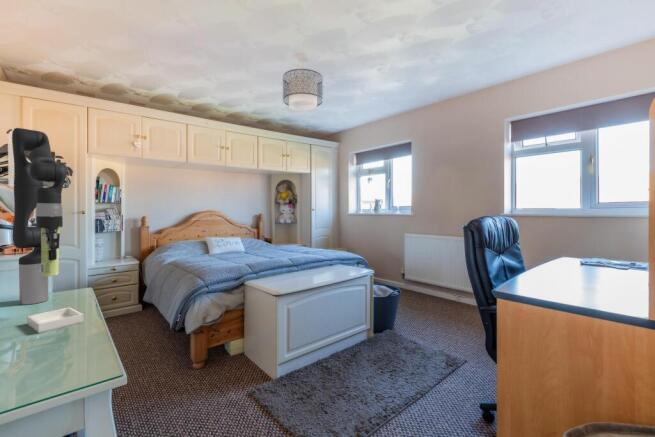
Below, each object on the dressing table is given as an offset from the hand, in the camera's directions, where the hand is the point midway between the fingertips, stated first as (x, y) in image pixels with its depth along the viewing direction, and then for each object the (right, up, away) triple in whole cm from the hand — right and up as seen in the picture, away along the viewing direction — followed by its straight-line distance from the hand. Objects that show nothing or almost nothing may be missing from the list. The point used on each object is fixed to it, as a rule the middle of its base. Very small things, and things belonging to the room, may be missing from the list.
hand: (50, 258), depth 117 cm
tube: (0, -7, 0) cm, 7 cm away
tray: (+10, -22, -8) cm, 25 cm away
